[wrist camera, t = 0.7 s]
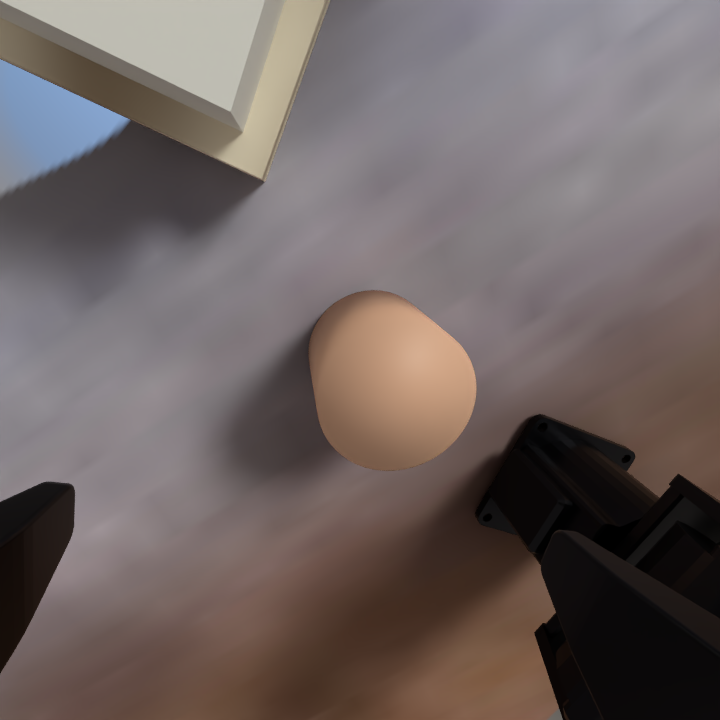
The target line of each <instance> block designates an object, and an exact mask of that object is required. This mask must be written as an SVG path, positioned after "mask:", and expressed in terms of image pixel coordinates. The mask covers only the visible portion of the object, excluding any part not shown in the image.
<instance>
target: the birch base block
mask: <svg viewBox="0 0 720 720" xmlns="http://www.w3.org/2000/svg"><path fill="white" fill-rule="evenodd" d="M329 3H330V0H285V3H284V6H283V9H282V12H281V15H280V19H279V22H278V25H277V28H276V31H275V34H274V37H273V41H272V44H271V47H270V50H269V53H268V56H267V59H266V62H265V66H264V69H263V72H262V75H261V78H260V81H259V84H258V88H257V91H256V94H255V97H254V100H253V103H252V106H251V110H250V113H249V116H248V119H247V122H246V125H245V128H244V131H243V132H241V131H239V130H237V129H235V128H233V127H231V126H228V125H226V124H224V123H222V122H220V121H218V120H216V119H214V118H212V117H209V116H207V115H205V114H203V113H201V112H199V111H197V110H195V109H192V108H190V107H188V106H186V105H184V104H182V103H180V102H178V101H176V100H173V99H171V98H169V97H167V96H165V95H163V94H161V93H159V92H157V91H154V90H152V89H150V88H148V87H146V86H144V85H142V84H140V83H138V82H135V81H133V80H131V79H129V78H127V77H125V76H123V75H121V74H119V73H116V72H114V71H112V70H110V69H108V68H106V67H104V66H102V65H100V64H97V63H95V62H93V61H91V60H89V59H87V58H85V57H83V56H81V55H78V54H76V53H74V52H72V51H70V50H68V49H66V48H64V47H61V46H59V45H57V44H55V43H53V42H51V41H49V40H47V39H45V38H42V37H40V36H38V35H36V34H34V33H32V32H30V31H28V30H26V29H23V28H21V27H19V26H17V25H15V24H13V23H11V22H9V21H7V20H4V19H2V18H0V59H1V60H3V61H6V62H8V63H10V64H12V65H14V66H16V67H19V68H21V69H23V70H25V71H27V72H29V73H31V74H34V75H36V76H38V77H40V78H42V79H44V80H47V81H49V82H51V83H53V84H55V85H57V86H59V87H62V88H64V89H66V90H68V91H70V92H72V93H74V94H76V95H79V96H81V97H83V98H85V99H87V100H90V101H92V102H94V103H96V104H98V105H100V106H102V107H104V108H107V109H109V110H111V111H113V112H115V113H117V114H120V115H122V116H124V117H126V118H128V119H131V120H133V121H135V122H137V123H139V124H141V125H143V126H146V127H148V128H150V129H152V130H154V131H156V132H158V133H161V134H163V135H165V136H167V137H169V138H171V139H173V140H176V141H178V142H180V143H182V144H184V145H186V146H189V147H191V148H193V149H195V150H197V151H199V152H201V153H204V154H206V155H208V156H210V157H212V158H214V159H216V160H219V161H221V162H223V163H225V164H227V165H229V166H231V167H234V168H236V169H238V170H240V171H242V172H244V173H246V174H249V175H251V176H253V177H255V178H257V179H259V180H262V181H264V182H265V181H266V178H267V176H268V173H269V170H270V167H271V164H272V162H273V159H274V156H275V153H276V150H277V148H278V145H279V142H280V139H281V137H282V134H283V131H284V128H285V125H286V123H287V120H288V117H289V114H290V111H291V109H292V106H293V103H294V100H295V98H296V95H297V92H298V89H299V86H300V84H301V81H302V78H303V75H304V72H305V70H306V67H307V64H308V61H309V59H310V56H311V53H312V50H313V47H314V45H315V42H316V39H317V36H318V33H319V31H320V28H321V25H322V22H323V20H324V17H325V14H326V11H327V8H328V6H329Z"/></svg>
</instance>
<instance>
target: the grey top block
mask: <svg viewBox="0 0 720 720" xmlns="http://www.w3.org/2000/svg"><path fill="white" fill-rule="evenodd" d="M284 3H285V0H0V18H2V19H4V20H7V21H9V22H11V23H13V24H15V25H17V26H19V27H21V28H23V29H26V30H28V31H30V32H32V33H34V34H36V35H38V36H40V37H42V38H45V39H47V40H49V41H51V42H53V43H55V44H57V45H59V46H61V47H64V48H66V49H68V50H70V51H72V52H74V53H76V54H78V55H81V56H83V57H85V58H87V59H89V60H91V61H93V62H95V63H97V64H100V65H102V66H104V67H106V68H108V69H110V70H112V71H114V72H116V73H119V74H121V75H123V76H125V77H127V78H129V79H131V80H133V81H135V82H138V83H140V84H142V85H144V86H146V87H148V88H150V89H152V90H154V91H157V92H159V93H161V94H163V95H165V96H167V97H169V98H171V99H173V100H176V101H178V102H180V103H182V104H184V105H186V106H188V107H190V108H192V109H195V110H197V111H199V112H201V113H203V114H205V115H207V116H209V117H212V118H214V119H216V120H218V121H220V122H222V123H224V124H226V125H228V126H231V127H233V128H235V129H237V130H239V131H241V132H243V131H244V128H245V125H246V122H247V119H248V116H249V113H250V110H251V106H252V103H253V100H254V97H255V94H256V91H257V88H258V84H259V81H260V78H261V75H262V72H263V69H264V66H265V62H266V59H267V56H268V53H269V50H270V47H271V44H272V41H273V37H274V34H275V31H276V28H277V25H278V22H279V19H280V15H281V12H282V9H283V6H284Z"/></svg>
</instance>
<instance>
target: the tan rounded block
mask: <svg viewBox="0 0 720 720" xmlns="http://www.w3.org/2000/svg"><path fill="white" fill-rule="evenodd" d="M308 356H309V365H310V371H311V377H312V383H313V389H314V396H315V402H316V408H317V414H318V418H319V423H320V426H321V428H322V431H323V433H324V435H325V437H326V438H327V440H328V441H329V443H330V444H331V445H332V447H333V448H334V449H335V450H336V451H337V452H338V453H339V454H341V455H342V456H343V457H345V458H346V459H348V460H349V461H351V462H353V463H355V464H357V465H360V466H363V467H365V468H370V469H374V470H382V471H395V470H403V469H407V468H412V467H415V466H418V465H421V464H423V463H425V462H427V461H429V460H431V459H433V458H435V457H436V456H438V455H439V454H441V453H442V452H443V451H445V450H446V449H447V448H448V447H449V446H450V445H451V444H452V443H453V442H454V441H455V440H456V439H457V438H458V437H459V435H460V434H461V433H462V431H463V430H464V428H465V427H466V425H467V423H468V421H469V419H470V417H471V414H472V411H473V408H474V404H475V399H476V377H475V373H474V369H473V366H472V363H471V361H470V359H469V357H468V355H467V353H466V352H465V350H464V349H463V348H462V347H461V345H460V344H459V343H458V342H457V341H456V340H455V339H454V338H453V337H451V336H450V335H449V334H448V333H446V332H445V331H444V330H443V329H442V328H440V327H439V326H438V325H437V324H435V323H434V322H433V321H432V320H431V319H429V318H428V317H427V316H426V315H425V314H423V313H422V312H421V311H420V310H418V309H417V308H416V307H415V306H414V305H412V304H411V303H410V302H408V301H407V300H406V299H404V298H402V297H400V296H398V295H396V294H393V293H390V292H385V291H377V290H370V291H362V292H357V293H354V294H351V295H348V296H346V297H344V298H342V299H340V300H339V301H337V302H336V303H334V304H333V305H332V306H331V307H329V308H328V309H327V310H326V311H325V312H324V314H323V315H322V316H321V317H320V319H319V320H318V322H317V323H316V325H315V327H314V329H313V332H312V335H311V337H310V342H309V351H308Z"/></svg>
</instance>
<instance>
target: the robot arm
mask: <svg viewBox="0 0 720 720" xmlns="http://www.w3.org/2000/svg"><path fill="white" fill-rule="evenodd" d="M541 423H543V425H542V426H541V427H539V428H538V426H539V425H540V424H541ZM634 459H635V454H634V452H632V451H631V450H630V449H628V448H627V447H625V446H622V445H620V444H617V443H615V442H612V441H610V440H607V439H604V438H602V437H599V436H597V435H594V434H592V433H589V432H587V431H584V430H581V429H579V428H576V427H574V426H571V425H569V424H566V423H563V422H561V421H558V420H556V419H553V418H551V417H548V416H545V415H542V414H539V415H536V416H534V417H533V418H532V419H531V420H530V421H529V423H528V425H527V426H526V428H525V430H524V431H523V433H522V435H521V436H520V438H519V440H518V442H517V443H516V445H515V447H514V448H513V450H512V452H511V453H510V455H509V457H508V458H507V460H506V462H505V463H504V465H503V467H502V468H501V470H500V472H499V473H498V475H497V477H496V478H495V480H494V482H493V483H492V485H491V487H490V488H489V490H488V492H487V493H486V495H485V497H484V498H483V500H482V502H481V503H480V505H479V507H478V508H477V510H476V513H475V516H476V518H477V520H478V521H479V523H480V524H481V525H484V526H487V527H491V528H494V529H498V530H501V531H505V532H508V533H512V534H515V535H518V536H519V538H520V539H521V541H522V542H523V544H524V545H525V546H526V548H527V549H528V551H530V552H531V553H532V554H533V555H534V557H535V558H536V559H537V561H538V562H539V564H540V565H541V572H542V576H543V579H544V581H545V584H546V587H547V589H548V592H549V595H550V597H551V600H552V603H553V605H554V608H555V611H556V613H555V614H554V615H553V616H552V617H551V619H550V620H549V621H548V622H547V623H542V625H541V626H540V627H539V628H538V629H537V630H536V631H535V632H534V633H535V637H536V640H537V643H538V646H539V649H540V652H541V655H542V658H543V661H544V664H545V667H546V670H547V673H548V676H549V679H550V682H551V685H552V688H553V691H554V694H555V697H556V700H557V703H558V706H559V709H560V712H561V715H562V718H563V720H720V501H719V500H718V499H716V498H715V497H713V496H712V495H710V494H709V493H707V492H705V491H704V490H702V489H701V488H699V487H698V486H696V485H695V484H693V483H692V482H690V481H689V480H687V479H686V478H684V477H683V476H681V475H680V474H677V476H676V477H675V478H674V479H673V480H672V481H671V482H670V483H669V485H670V488H669V489H668V490H667V491H666V492H665V493H664V494H663V495H662V496H661V497H660V498H659V497H658V496H657V495H655V494H654V493H653V492H652V491H650V490H649V489H648V488H647V487H645V486H644V485H643V484H642V483H640V482H639V481H638V480H637V479H635V478H634V477H633V476H632V475H630V474H629V473H628V472H627V470H628V469H629V467H630V466H631V464H632V463H633V461H634ZM74 509H75V490H74V487H73V486H72V485H71V484H69V483H59V482H43V483H41V484H38V485H36V486H34V487H32V488H30V489H27V490H25V491H23V492H21V493H19V494H17V495H14V496H12V497H10V498H8V499H6V500H3V501H1V502H0V673H1V671H2V670H3V668H4V666H5V665H6V663H7V662H8V660H9V658H10V657H11V655H12V653H13V652H14V650H15V649H16V647H17V645H18V643H19V642H20V640H21V638H22V637H23V635H24V633H25V631H26V629H27V627H28V625H29V623H30V621H31V620H32V618H33V616H34V613H35V611H36V609H37V607H38V605H39V603H40V601H41V599H42V597H43V595H44V593H45V591H46V589H47V587H48V585H49V583H50V580H51V578H52V576H53V574H54V572H55V570H56V568H57V566H58V564H59V562H60V560H61V558H62V556H63V554H64V552H65V549H66V547H67V545H68V543H69V541H70V539H71V536H72V533H73V528H74ZM485 514H488V515H487V516H484V515H485Z"/></svg>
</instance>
